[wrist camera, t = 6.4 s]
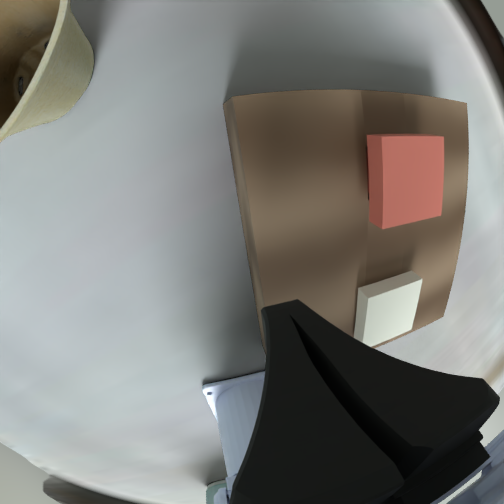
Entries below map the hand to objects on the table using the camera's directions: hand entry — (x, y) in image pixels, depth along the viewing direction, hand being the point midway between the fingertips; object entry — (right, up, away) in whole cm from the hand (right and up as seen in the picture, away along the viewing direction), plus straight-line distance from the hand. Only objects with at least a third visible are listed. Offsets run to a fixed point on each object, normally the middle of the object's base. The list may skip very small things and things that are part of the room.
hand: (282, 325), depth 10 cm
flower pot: (-13, +13, +2) cm, 19 cm away
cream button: (+7, +1, +11) cm, 13 cm away
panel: (+6, +5, +10) cm, 12 cm away
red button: (+6, +8, +7) cm, 12 cm away
